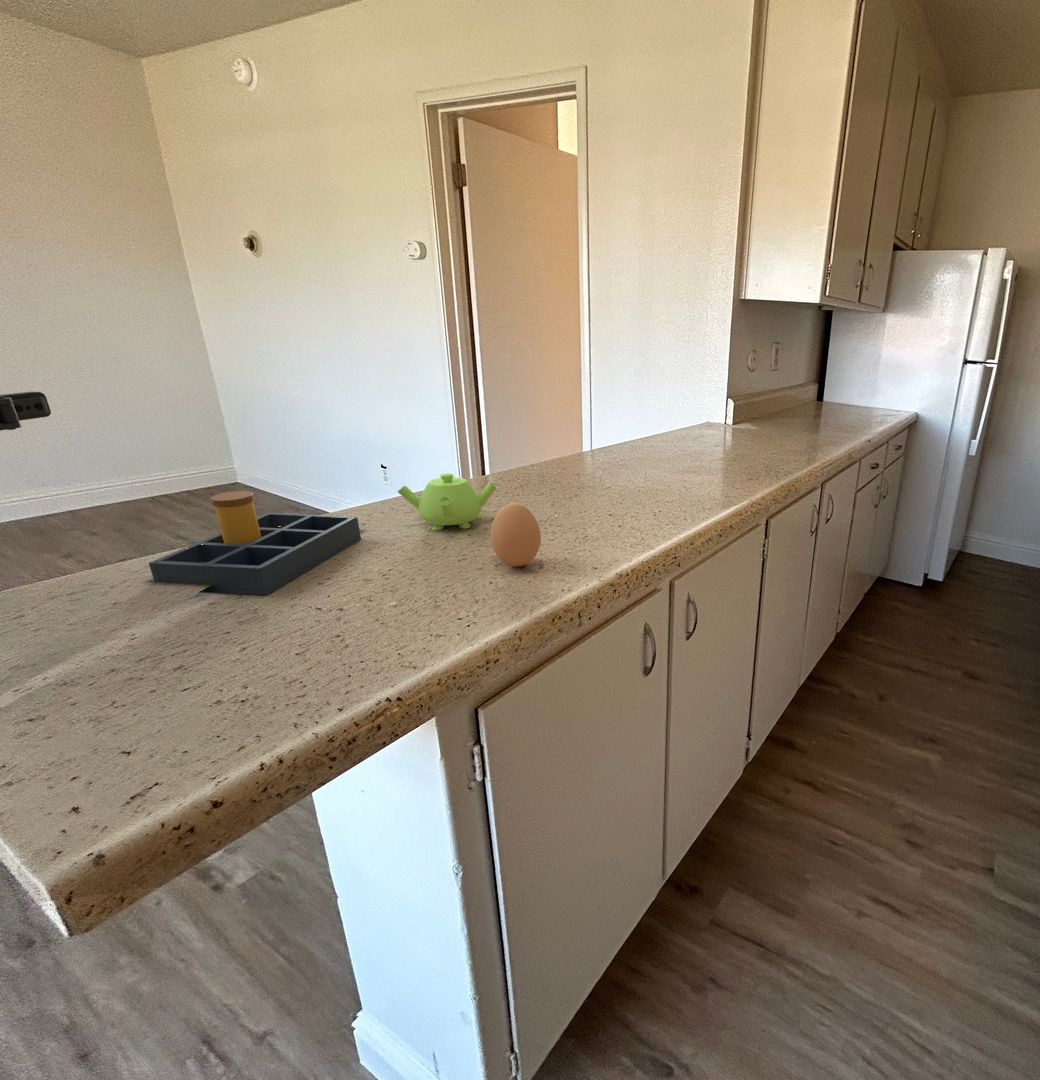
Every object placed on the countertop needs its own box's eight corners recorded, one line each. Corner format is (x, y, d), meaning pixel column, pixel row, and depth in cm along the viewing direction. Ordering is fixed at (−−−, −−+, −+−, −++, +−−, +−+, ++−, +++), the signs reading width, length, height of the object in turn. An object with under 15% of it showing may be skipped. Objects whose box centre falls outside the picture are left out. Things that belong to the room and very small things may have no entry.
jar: (217, 560, 79) (201, 499, 76) (243, 548, 83) (228, 490, 80) (250, 562, 79) (235, 501, 76) (274, 550, 83) (261, 491, 80)
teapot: (457, 508, 106) (451, 462, 103) (504, 521, 101) (500, 472, 98) (400, 526, 96) (392, 475, 93) (449, 540, 92) (442, 487, 89)
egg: (490, 575, 80) (483, 511, 77) (496, 557, 86) (491, 497, 83) (540, 573, 82) (536, 510, 78) (544, 555, 88) (540, 496, 84)
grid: (156, 590, 72) (148, 562, 71) (273, 534, 90) (268, 512, 89) (266, 595, 72) (260, 568, 71) (361, 539, 90) (357, 516, 89)
